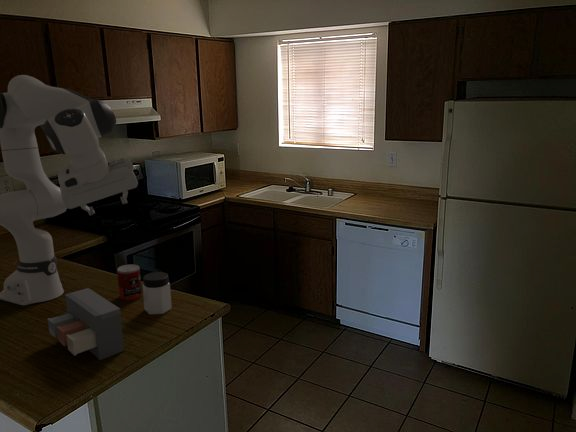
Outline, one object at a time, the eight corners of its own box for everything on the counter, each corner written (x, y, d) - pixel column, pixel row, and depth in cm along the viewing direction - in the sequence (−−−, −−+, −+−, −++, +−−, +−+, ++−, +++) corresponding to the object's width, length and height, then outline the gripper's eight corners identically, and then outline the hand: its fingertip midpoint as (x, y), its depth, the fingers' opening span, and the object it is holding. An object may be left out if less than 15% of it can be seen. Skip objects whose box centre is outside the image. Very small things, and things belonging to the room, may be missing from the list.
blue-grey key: (55, 337, 139) (53, 323, 138) (49, 332, 142) (47, 318, 141) (81, 328, 144) (79, 315, 143) (75, 324, 147) (73, 310, 146)
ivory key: (74, 355, 129) (72, 340, 128) (68, 349, 132) (66, 335, 131) (102, 345, 134) (100, 331, 133) (95, 340, 137) (93, 325, 136)
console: (100, 360, 133) (95, 316, 130) (70, 334, 148) (65, 294, 145) (124, 350, 138) (120, 308, 135) (92, 326, 153) (88, 288, 149)
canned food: (124, 303, 170) (122, 273, 167) (116, 296, 176) (113, 267, 173) (145, 297, 174) (143, 268, 172) (136, 290, 180) (134, 262, 178)
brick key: (64, 346, 134) (62, 331, 133) (58, 340, 137) (56, 326, 136) (91, 337, 139) (89, 322, 138) (85, 331, 142) (83, 318, 141)
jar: (173, 303, 169) (171, 271, 166) (170, 313, 161) (167, 279, 158) (146, 304, 168) (144, 272, 165) (142, 315, 160) (139, 281, 157)
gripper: (127, 151, 136) (142, 190, 144) (52, 174, 130) (71, 214, 139) (131, 161, 131) (146, 201, 140) (53, 186, 126) (74, 226, 134)
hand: (108, 208), depth 139 cm, fingers open, 8 cm apart
